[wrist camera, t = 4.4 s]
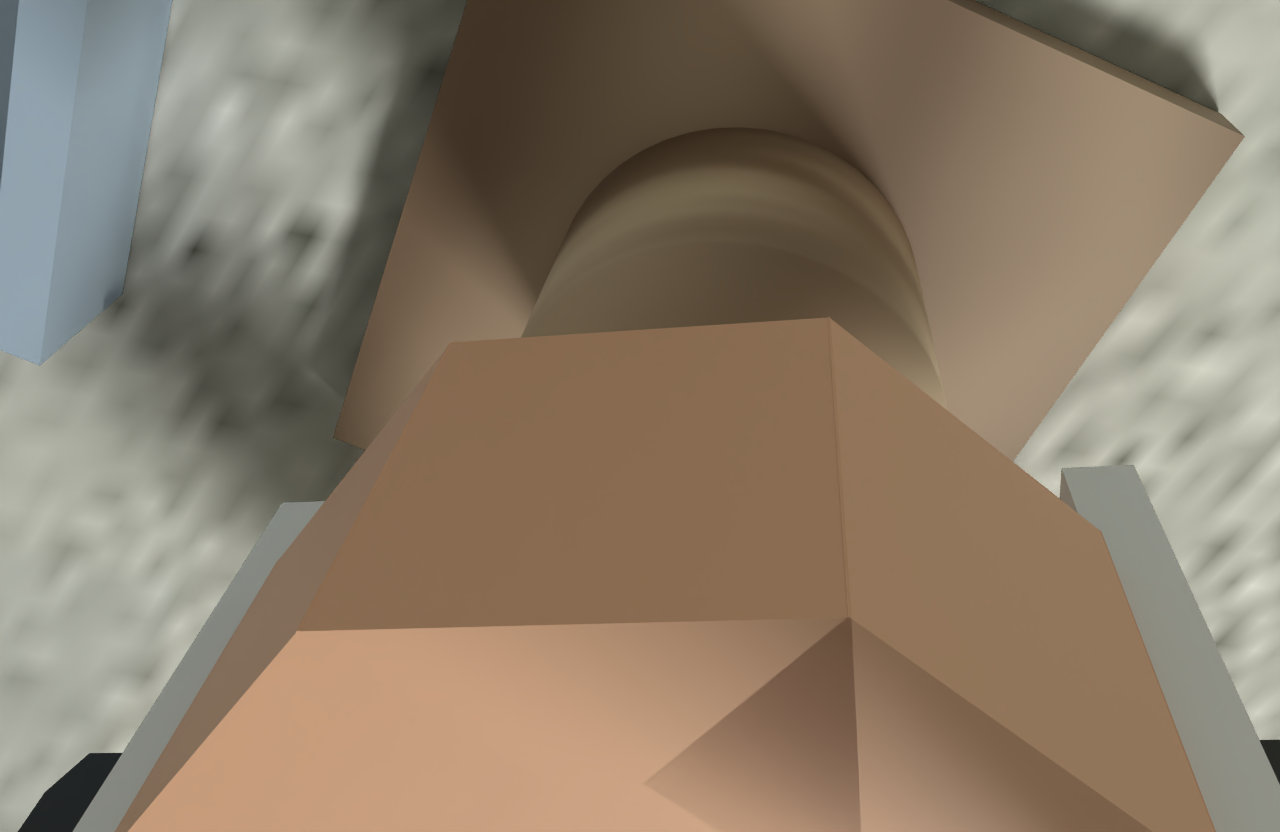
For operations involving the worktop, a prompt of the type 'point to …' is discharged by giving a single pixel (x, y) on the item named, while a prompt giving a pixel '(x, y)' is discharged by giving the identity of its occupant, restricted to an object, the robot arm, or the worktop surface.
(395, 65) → the worktop surface
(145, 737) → the robot arm
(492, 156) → the stake
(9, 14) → the tray
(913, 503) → the ring
